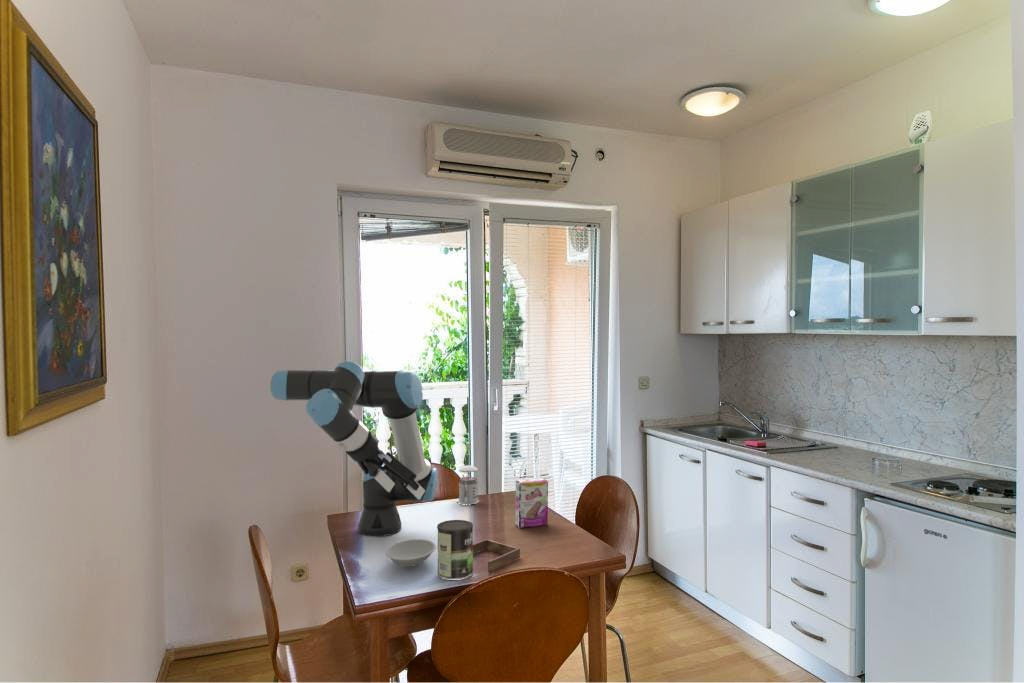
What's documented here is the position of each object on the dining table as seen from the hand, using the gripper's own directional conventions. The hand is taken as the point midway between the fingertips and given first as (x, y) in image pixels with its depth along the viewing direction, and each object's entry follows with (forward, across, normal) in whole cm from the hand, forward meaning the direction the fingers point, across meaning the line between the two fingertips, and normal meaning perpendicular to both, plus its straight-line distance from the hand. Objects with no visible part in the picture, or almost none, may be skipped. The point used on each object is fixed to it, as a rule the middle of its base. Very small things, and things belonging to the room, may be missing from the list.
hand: (406, 491), depth 154 cm
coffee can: (+32, 0, -7) cm, 33 cm away
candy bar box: (+67, -10, +28) cm, 73 cm away
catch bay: (+42, 0, +3) cm, 42 cm away
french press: (+72, -49, +33) cm, 93 cm away
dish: (+30, -15, -9) cm, 34 cm away
